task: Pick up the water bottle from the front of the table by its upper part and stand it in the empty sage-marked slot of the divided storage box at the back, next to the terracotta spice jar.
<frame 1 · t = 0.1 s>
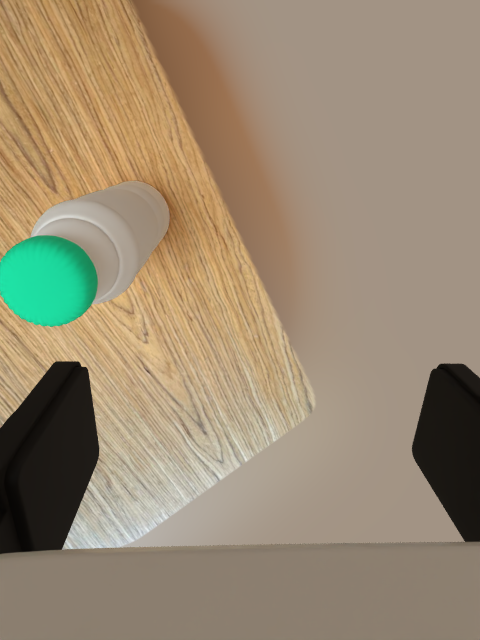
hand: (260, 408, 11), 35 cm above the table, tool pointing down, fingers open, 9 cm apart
water bottle: (138, 214, 43), on the table
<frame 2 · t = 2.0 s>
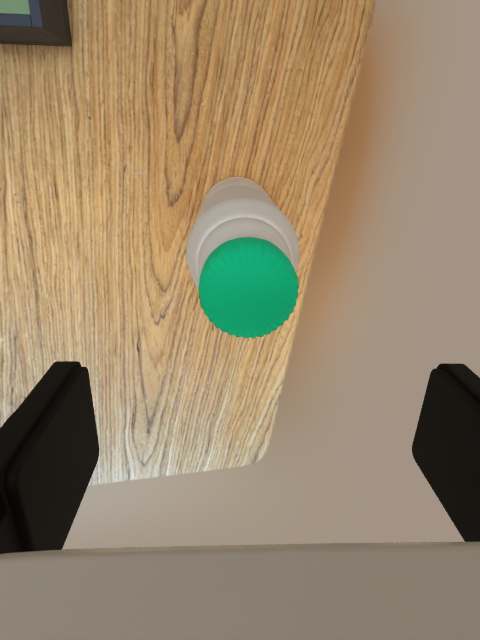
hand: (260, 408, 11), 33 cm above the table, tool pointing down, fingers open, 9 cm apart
water bottle: (236, 212, 41), on the table
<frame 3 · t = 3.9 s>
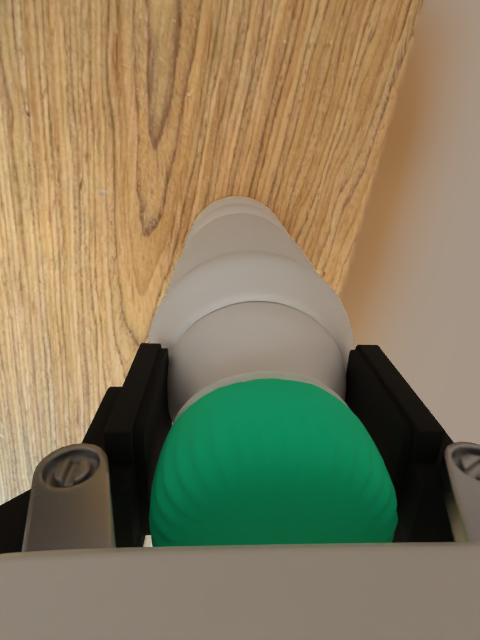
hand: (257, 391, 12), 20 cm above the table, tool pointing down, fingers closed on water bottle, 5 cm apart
water bottle: (236, 242, 30), on the table, touching gripper
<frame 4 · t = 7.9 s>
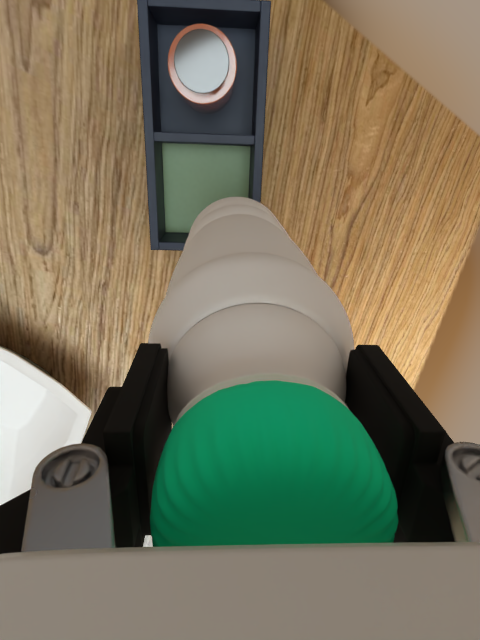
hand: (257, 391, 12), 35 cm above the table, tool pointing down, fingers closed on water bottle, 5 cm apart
divided storage box: (206, 139, 41), on the table
spice jar: (206, 83, 38), point 1 cm above the table, touching divided storage box
bowl: (5, 386, 51), on the table
water bottle: (235, 243, 30), point 15 cm above the table, touching gripper
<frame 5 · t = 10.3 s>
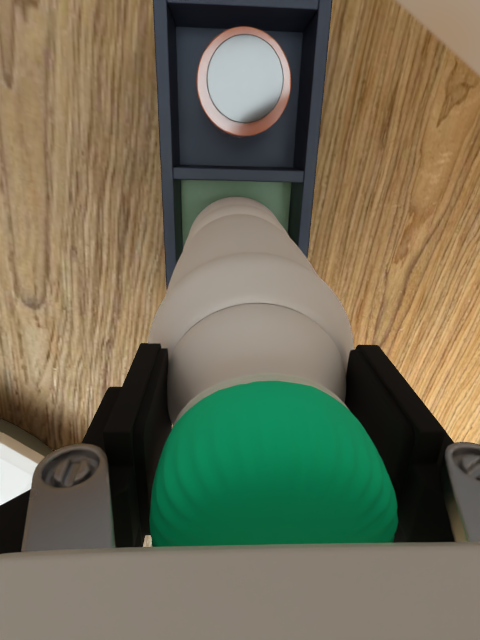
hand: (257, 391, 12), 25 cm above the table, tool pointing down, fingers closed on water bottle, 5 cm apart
divided storage box: (236, 170, 33), on the table
spice jar: (238, 101, 30), point 1 cm above the table, touching divided storage box
water bottle: (235, 243, 30), point 5 cm above the table, touching gripper
when the fingers open (21 cm above the table, at t = 11.7 s): water bottle stays where it is, resting on divided storage box.
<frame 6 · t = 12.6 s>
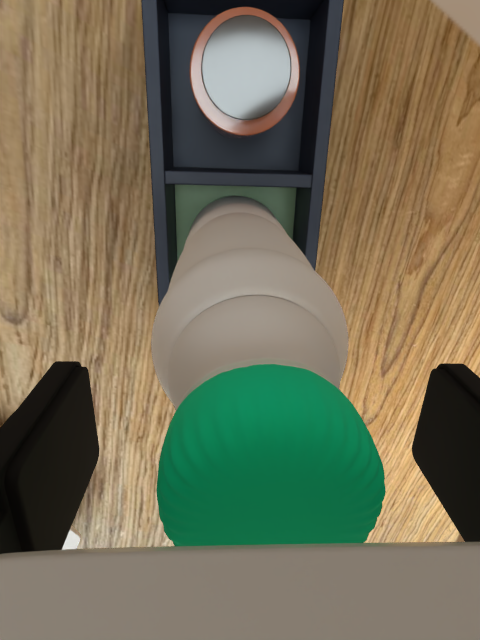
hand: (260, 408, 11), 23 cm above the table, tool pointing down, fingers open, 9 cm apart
divided storage box: (235, 173, 30), on the table
spice jar: (238, 97, 27), point 1 cm above the table, touching divided storage box
water bottle: (235, 241, 31), point 1 cm above the table, touching divided storage box
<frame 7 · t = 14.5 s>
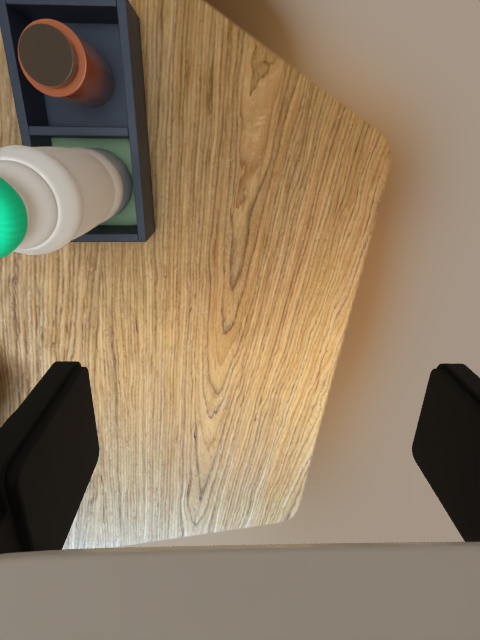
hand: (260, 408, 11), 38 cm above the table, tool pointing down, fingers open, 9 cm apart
divided storage box: (97, 133, 42), on the table
spice jar: (87, 78, 39), point 1 cm above the table, touching divided storage box
water bottle: (101, 183, 43), point 1 cm above the table, touching divided storage box
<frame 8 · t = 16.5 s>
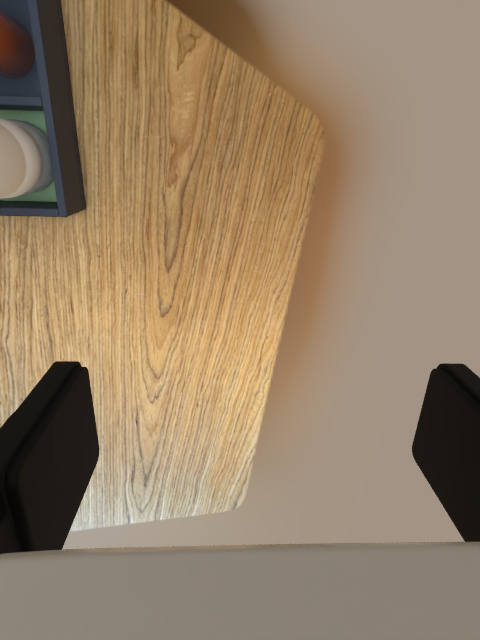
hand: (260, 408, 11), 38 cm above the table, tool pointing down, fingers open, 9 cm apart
divided storage box: (21, 106, 41), on the table
spice jar: (7, 47, 38), point 1 cm above the table, touching divided storage box
water bottle: (26, 157, 42), point 1 cm above the table, touching divided storage box
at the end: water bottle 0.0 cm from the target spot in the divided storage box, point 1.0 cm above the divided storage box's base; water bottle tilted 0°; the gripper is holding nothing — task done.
